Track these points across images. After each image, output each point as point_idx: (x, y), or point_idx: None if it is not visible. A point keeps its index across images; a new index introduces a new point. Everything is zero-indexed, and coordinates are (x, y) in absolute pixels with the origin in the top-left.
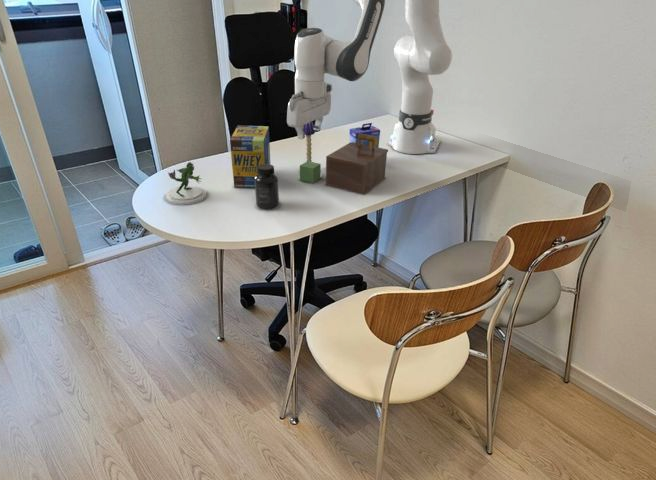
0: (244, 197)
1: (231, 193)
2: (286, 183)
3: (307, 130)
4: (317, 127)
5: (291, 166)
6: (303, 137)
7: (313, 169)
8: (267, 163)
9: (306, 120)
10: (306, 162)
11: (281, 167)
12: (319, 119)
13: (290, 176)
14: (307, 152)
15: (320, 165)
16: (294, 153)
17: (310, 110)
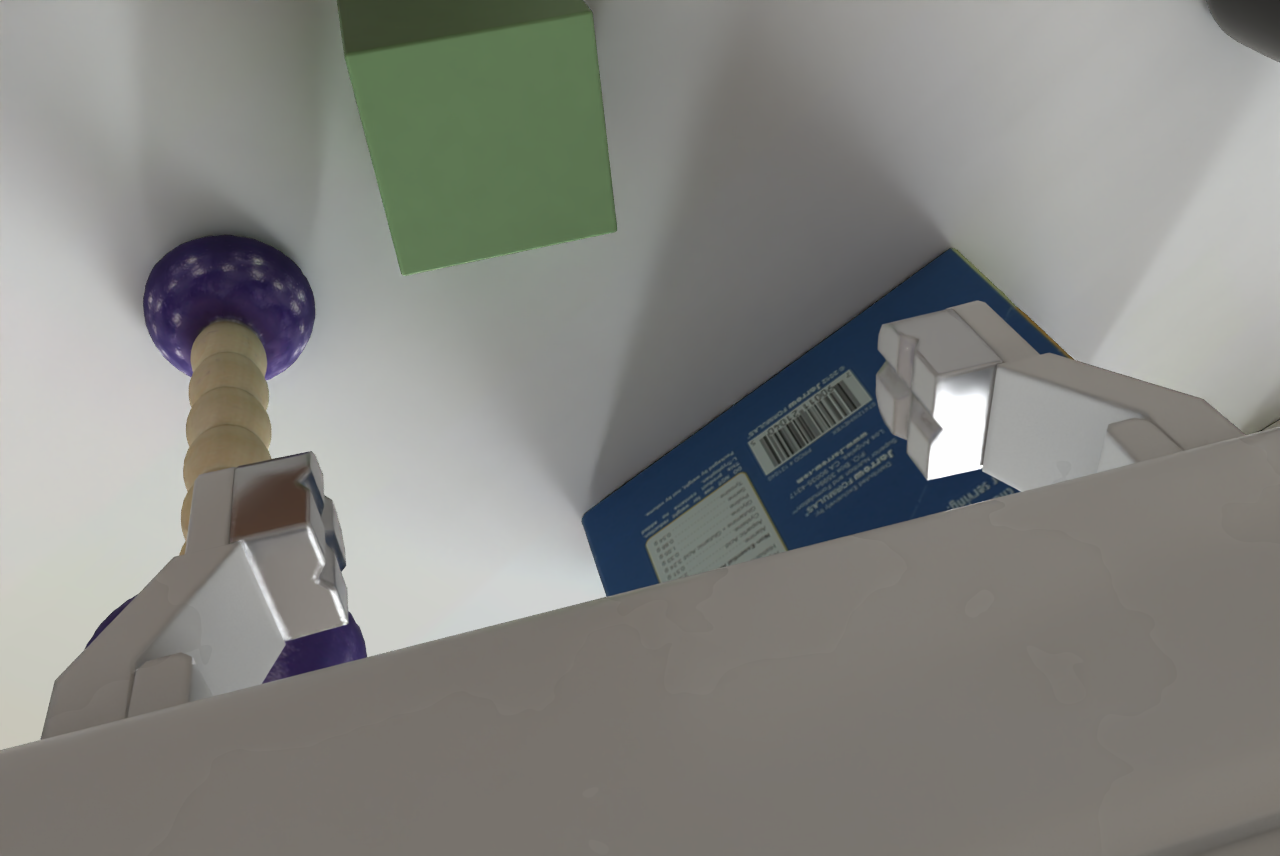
0: (1193, 228)
1: (1154, 359)
2: (741, 190)
3: (326, 661)
4: (320, 523)
5: (332, 486)
6: (950, 317)
7: (564, 7)
8: (887, 461)
9: (1200, 516)
10: (463, 247)
11: (434, 522)
12: (209, 691)
13: (559, 298)
14: (265, 435)
15: (348, 44)
16: (27, 717)
17: (1146, 805)
